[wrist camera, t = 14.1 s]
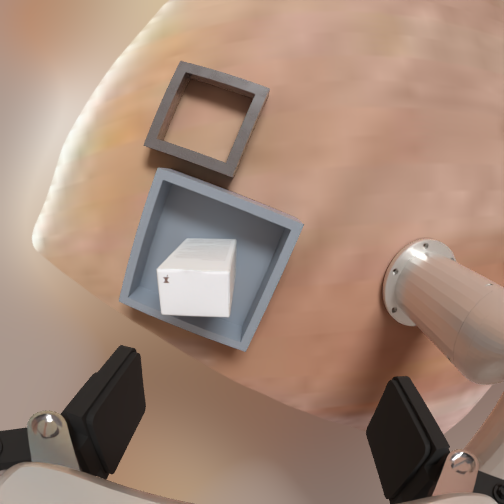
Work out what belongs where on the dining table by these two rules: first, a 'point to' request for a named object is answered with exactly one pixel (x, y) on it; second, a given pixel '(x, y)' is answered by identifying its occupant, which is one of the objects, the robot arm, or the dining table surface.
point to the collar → (172, 100)
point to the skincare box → (198, 278)
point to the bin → (210, 227)
